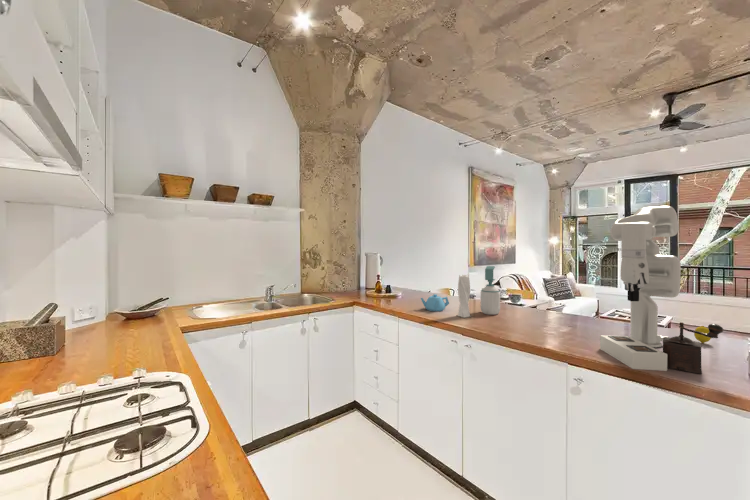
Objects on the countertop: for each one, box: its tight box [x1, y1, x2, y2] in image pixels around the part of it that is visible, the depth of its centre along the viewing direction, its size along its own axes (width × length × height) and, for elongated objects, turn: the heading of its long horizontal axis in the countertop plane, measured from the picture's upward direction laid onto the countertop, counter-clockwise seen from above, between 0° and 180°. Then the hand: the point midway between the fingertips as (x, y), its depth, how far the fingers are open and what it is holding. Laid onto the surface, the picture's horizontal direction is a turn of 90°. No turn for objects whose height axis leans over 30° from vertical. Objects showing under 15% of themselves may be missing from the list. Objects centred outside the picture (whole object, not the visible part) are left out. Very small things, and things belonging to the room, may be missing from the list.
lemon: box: [693, 325, 712, 344], centre depth 148 cm, size 6×6×8 cm
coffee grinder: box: [662, 321, 724, 375], centre depth 118 cm, size 16×11×18 cm
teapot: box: [420, 293, 450, 312], centre depth 226 cm, size 15×15×11 cm
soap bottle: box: [480, 265, 501, 316], centre depth 213 cm, size 12×12×31 cm
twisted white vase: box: [455, 272, 473, 319], centre depth 203 cm, size 8×8×28 cm
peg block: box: [599, 334, 668, 372], centre depth 128 cm, size 11×23×6 cm, turn 170°
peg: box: [634, 347, 648, 350], centre depth 122 cm, size 4×4×6 cm
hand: (633, 300), depth 127 cm, fingers closed
